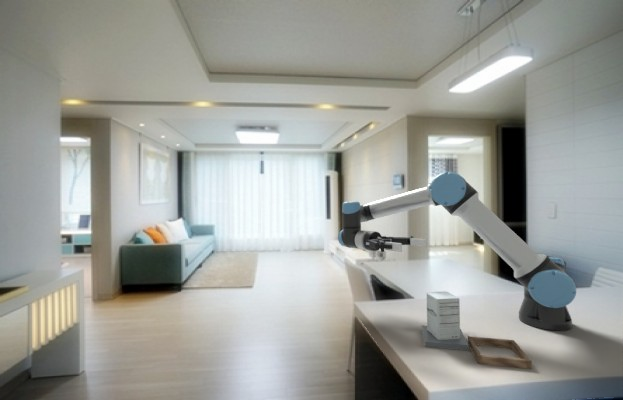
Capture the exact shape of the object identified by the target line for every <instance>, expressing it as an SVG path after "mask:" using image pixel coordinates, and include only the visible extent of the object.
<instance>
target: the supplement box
mask: <svg viewBox="0 0 623 400" xmlns="http://www.w3.org/2000/svg"><path fill="white" fill-rule="evenodd" d="M460 304H461V303H460V297H458V296H456V295H454V294H452V293H450V292H449V291H446V290H444V291H442V290H441V291H429V292H426V326H427V330H428V331H429V332H430V333H431V334H432V335H433V336H435V337H436V338H437V339H438V340H449V339H460V329H461V326H460V325H461V317H460V315H461V313H460V310H461V309H460Z"/></svg>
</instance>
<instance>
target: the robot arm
mask: <svg viewBox="0 0 623 400" xmlns="http://www.w3.org/2000/svg"><path fill="white" fill-rule="evenodd" d="M431 205H433V206H434V207H436V206H442V207H443V208H444V209H445V210H446V211H447V212H448V213H449V214H450V215H451V216H458V217H459V218H460V219H461V220H462V221H463V222H464V223H465V224H467V225H468V226H469V228H471V230H473V232H475V233H476V234H477V236H479V237H480V239H482V240H483V242H484V243H486V244H487V245H488V246H489V247H490V249H492V250H493V251H494V252H495V253H496V254H497V255H498V256H499V257H500V258H501V259H502V260H503V261H504V262H505V263H506V264H507V265H508V266H510V268H512V270H513V277H514V278H515V279H516V280H517V282H519V283H520V284H521V286H522V287H523V295H524V296H523V299H522V302H521V305H520V307H519V311H518V320H520V321H521V322H522V323H524V324H527V325H528V326H530V327H531V326H532V327H535V328H538V329H543V330H549V331H559V332H561V331H562V332H563V331H569V330H571V329H573V319H572V317H571V314H570V312H569V309H568V307H567V306H568V305H570V304H572V302H573V301H574V300H575V299H576V296H577V287H576V282H575V280H574V279H573V278H572V277H571V276H570V275H569V274H567V272H565V268H566V265H565V260H564V259H563V258H560V257H553V256H552V257H550V256H548V255H546V254H543V253H538V252H536V251H535V250H534V249H533V248H532V247H531V246H530V245H528V244H527V242H525V241H524V240H523V239H522V238H521V237H520V236H519V235H517V233H515V231H513V230H512V229H511V228H510V227H509V226H508V225H507V224H506V223H505V222H504V221H503V220H501V219H500V218H499V216H498V215H496V214H495V213H494V212H493V211H492V210H491V209H490V208H489V207H488V206H487V205H486V204H484V203H483V202H482V201H481V199H479V192H478V191H477V190H476V189H475V188H474V187H473V186H472V185H471V184H470V183H469V182H467V181H466V179H465V178H464V177H463V176H461V175H460V174H459V173H457V172H454V171H443V172H441V173H438V174H437V175H436V176H435V177H434V178H433V179H432V180H431V182H430V183H428V184H427V186H424V187H421V188H417V189H414V190H411V191H406V192H404V193H401V194H400V193H399V194H397V195H392V196H390V197H386V198H383V199H379V200H376V201H372V202H369V203H365V204H361V203H360V202H359V201H344V202H342V206H341V207H342V208H341V209H342V210H341V212H342V213H341V214H342V230H340V232H339V233H338V236H337V241H338V243H339V244H340V245H341V246H343V247H345V248H348V249H359V250H362V251H364V252H365V251H372V252H377V251H380V253H385V251H389V252H390V251H391V252H398V253H401V252H403V248H402V247H403V246H411V247H422V248H428V240H427V239H426V238H425V239H424V238H415V237H414V236H413V235H410V237H408V236H407V237H405V236H404V237H400V236H385V235H382V234H381V233H380V232H379V231H373V230H362V223H366V222H369V221H373V220H377V219H380V218H384V217H387V216H392V215H395V214H396V215H397V214H399V213H403V212H408V211H411V210H412V211H413V210H415V209H420V208H422V207H423V208H424V207H428V206H431Z"/></svg>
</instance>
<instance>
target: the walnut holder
mask: <svg viewBox="0 0 623 400" xmlns="http://www.w3.org/2000/svg"><path fill="white" fill-rule="evenodd" d="M467 343H468V345H469V349H470V350H471V352H472V354H473V356H474V358H475V360H476V362H477V364H480V365H489V366H499V367H509V368H516V369H517V368H519V369H529V370H531V369H532V360H531V359H530V358H529V356H528V355H527V354H526V353H525V352H524V350H523V349H522V348H521V347H520V346H519V344H518V343H517V342H516V341H515V340H514V339H504V338H492V337H481V336H467ZM478 346H483V347H495V348H497V347H498V348H508V349H512V351H513V352H514V354H515V355H516V356H517V357H509V356H500V355H499V356H497V355H491V354H490V355H489V354H481V352H480V350H479V348H478Z"/></svg>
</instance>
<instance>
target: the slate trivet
mask: <svg viewBox="0 0 623 400" xmlns="http://www.w3.org/2000/svg"><path fill="white" fill-rule="evenodd" d="M421 331H422V337H423V342H424V347H427V348H438V349H448V350H449V349H450V350H460V351H461V350H462V351H470V346H469V344H468V340H467V339H466V337H465V334H464V332H463V331H462V329H461V328H460V339H449V340H438V339H437V338H436V337H435V336H433V335H432V334H431V333H430V332H429V331H428V330H427V325H421Z"/></svg>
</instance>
